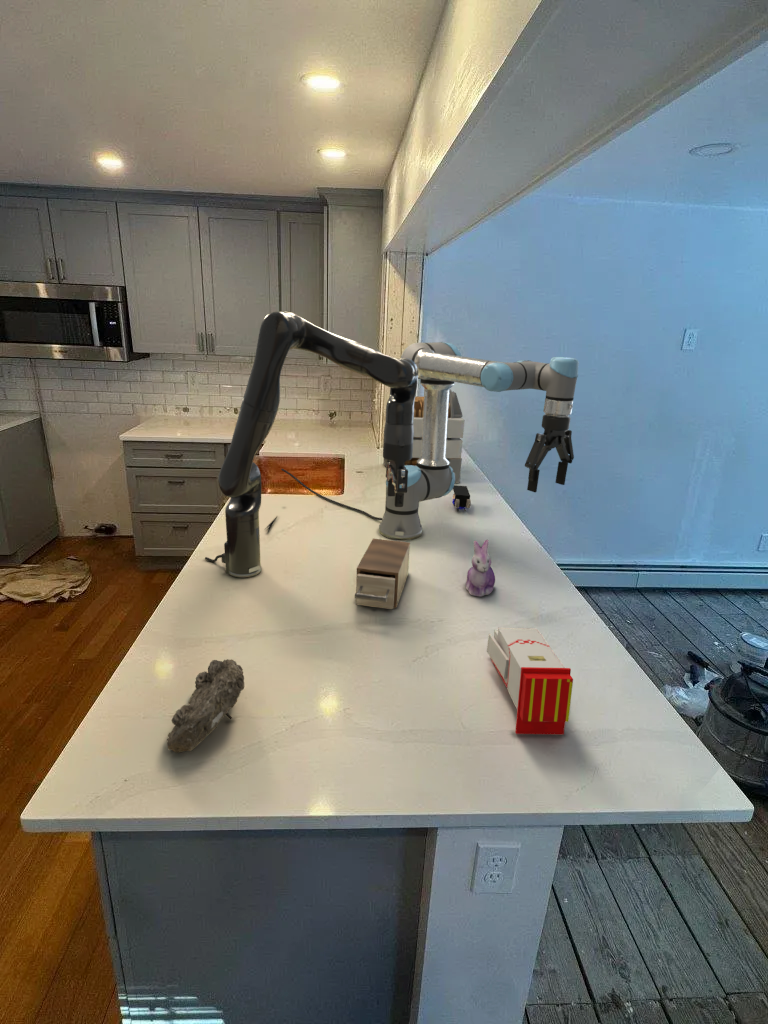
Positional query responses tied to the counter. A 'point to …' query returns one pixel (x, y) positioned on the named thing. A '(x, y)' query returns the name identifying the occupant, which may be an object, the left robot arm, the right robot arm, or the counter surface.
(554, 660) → the toy
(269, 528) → the feather
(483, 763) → the counter surface
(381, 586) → the drawer
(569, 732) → the counter surface
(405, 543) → the cabinet
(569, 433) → the right robot arm
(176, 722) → the fossil
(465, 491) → the figurine character
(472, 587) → the figurine
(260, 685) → the counter surface
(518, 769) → the counter surface
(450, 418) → the white boxy container
